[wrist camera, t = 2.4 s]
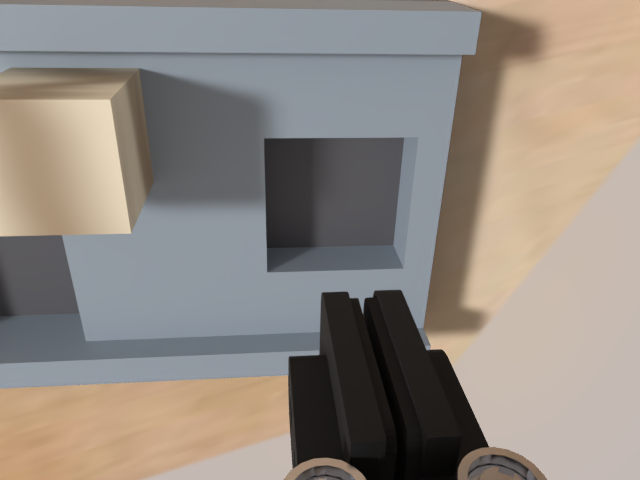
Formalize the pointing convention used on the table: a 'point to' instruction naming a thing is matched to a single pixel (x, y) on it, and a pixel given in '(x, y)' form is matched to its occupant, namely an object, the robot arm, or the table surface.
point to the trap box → (239, 182)
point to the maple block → (72, 151)
